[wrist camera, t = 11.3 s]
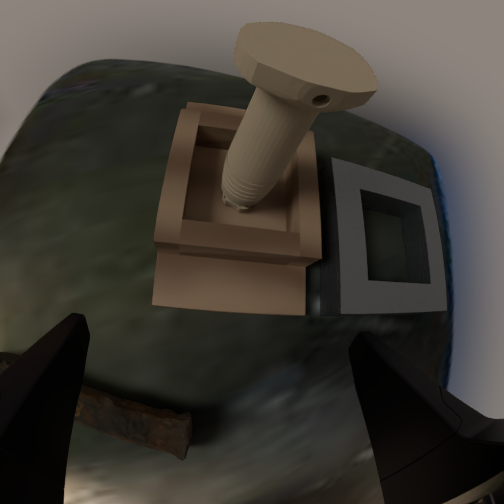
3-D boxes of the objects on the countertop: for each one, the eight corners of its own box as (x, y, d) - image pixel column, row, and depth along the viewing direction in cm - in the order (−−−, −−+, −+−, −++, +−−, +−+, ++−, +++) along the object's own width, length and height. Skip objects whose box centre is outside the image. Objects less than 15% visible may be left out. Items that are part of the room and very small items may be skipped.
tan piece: (299, 315, 23) (322, 313, 19) (154, 305, 20) (146, 301, 16) (295, 127, 28) (309, 103, 24) (187, 109, 26) (189, 81, 22)
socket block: (424, 313, 26) (446, 310, 23) (320, 316, 23) (340, 313, 20) (412, 200, 30) (430, 189, 27) (315, 175, 27) (331, 157, 24)
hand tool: (195, 407, 19) (198, 426, 15) (185, 447, 18) (186, 472, 14) (6, 326, 17) (-22, 323, 12) (0, 364, 15) (-28, 367, 11)
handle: (199, 171, 23) (234, 14, 9) (270, 172, 24) (355, 43, 10) (202, 224, 22) (245, 73, 8) (278, 222, 23) (392, 106, 9)
